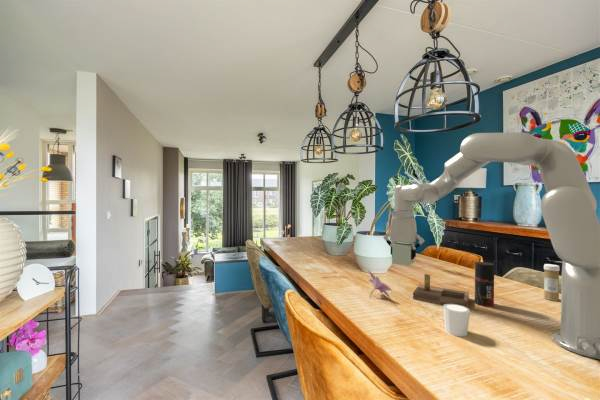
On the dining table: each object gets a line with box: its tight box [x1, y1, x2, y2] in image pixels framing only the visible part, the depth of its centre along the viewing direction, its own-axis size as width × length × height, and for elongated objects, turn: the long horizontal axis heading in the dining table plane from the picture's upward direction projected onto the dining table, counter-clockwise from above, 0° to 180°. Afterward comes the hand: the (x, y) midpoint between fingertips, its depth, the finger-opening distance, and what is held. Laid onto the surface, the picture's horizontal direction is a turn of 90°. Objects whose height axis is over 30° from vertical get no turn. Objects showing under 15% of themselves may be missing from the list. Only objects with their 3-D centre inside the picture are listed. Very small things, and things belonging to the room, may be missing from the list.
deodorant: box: [474, 261, 495, 308], centre depth 103 cm, size 6×6×15 cm
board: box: [412, 273, 470, 309], centre depth 109 cm, size 13×18×8 cm
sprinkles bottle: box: [543, 263, 561, 302], centre depth 109 cm, size 5×5×14 cm
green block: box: [391, 242, 415, 267], centre depth 116 cm, size 7×7×8 cm
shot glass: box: [442, 304, 471, 337], centre depth 81 cm, size 7×7×7 cm
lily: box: [367, 269, 392, 299], centre depth 110 cm, size 12×12×10 cm
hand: (402, 257), depth 116 cm, fingers closed on green block, 7 cm apart
